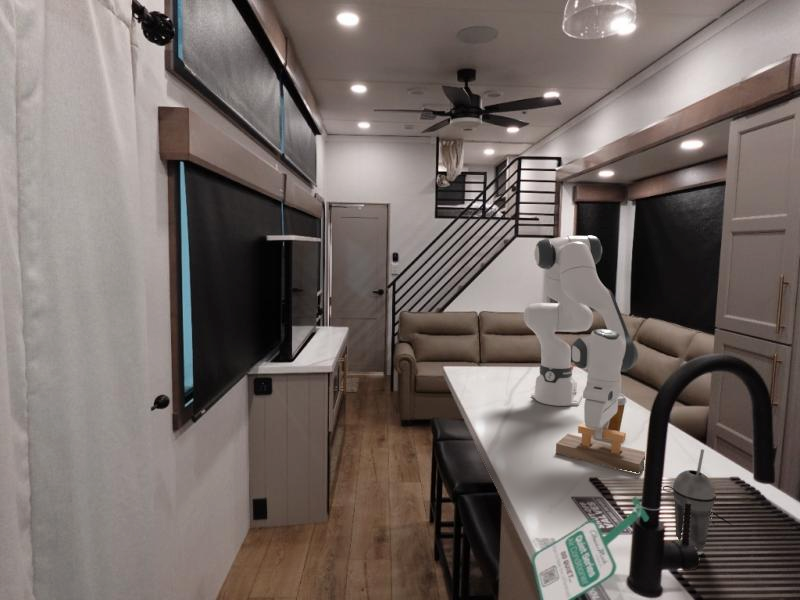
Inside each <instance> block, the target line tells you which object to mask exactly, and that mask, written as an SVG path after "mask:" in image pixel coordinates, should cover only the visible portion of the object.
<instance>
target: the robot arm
mask: <svg viewBox="0 0 800 600" xmlns="http://www.w3.org/2000/svg"><path fill="white" fill-rule="evenodd" d="M533 253H534V255H533V256H534V261H536V265H537V266H538V267H539V268H540V269H544V286H543V287H544V288H543V289H544V292H545V293H546V295H547V296H548V297H549V298H550V299H552V300H553V301H555V302H536V303H529V304H528V305H527V307H526V308H525V309H524V312H523V321H524V323H525V325H526V327H528V328H529V329H530V330H531V331H533V333H534V334H535V336H536V337H537V339H538V341H539V344H540V354H541V355H540V356H541V357H540V358H541V360H540V361H541V362H540V365H539V375H538V376H537V377H536V378H535V386H534V393H531V394H530V396H531V398H532V399H535V401H536V402H539V403H541V404H544V405H548V406H556V407H557V406H558V407H564V406H565V407H566V406H579V405H580V403H581V401H582V398H583V399H584V405H583V406H584V407H583V408H584V409H583V410H584V416H583V417H584V424H585V425H586V427H587V428H591V429H595V437H594V438H595V439H598V440H601V439H603V428H605V429H608V425H609V421H610V419H611V418H612V417H613V416H614V415H615V414H616V413H617V410H618V397H620V396H621V394H622V393H621V392H622V374H621V372H624V373H625V372H628V371H629V370H631V369H632V368H633V367H634V366H635V365H636V364H637V361H638V358H639V352H638V348H637V345H636V344H635V342H634V340H633V339H632V337H631V336H630V335H631V334H630V333H629V331H628V328H627V326H626V323H625V321H624V318H623V316H622V313H621V311H620V308H619V305H618V302H617V301H616V297H615V296H614V294H613V293H612V290H610V289H609V288H607V287H606V286H605V285H604V284H603V283H602V281H601V280H600V278H599V276H598V273H597V268H596V265H597V264H598V263H599V262H600V260H601V258H602V254H603V247H602V244H601V241H600V239H599V238H598V237H597V236H595V235H588V234H586V235H567V236H561V237H554V238H545V239H541V240H539V241H538V242H537V243H536V245H535V249H534V252H533ZM556 302H557V303H556ZM591 309H593V310H595V311H596V312H598V314H600V315H601V317H602V318H603V321H604V324H605V326H606V328H598V329H593V330H592V331H591V333H590V334H589V335H588V336H583V337H578V338H577V339H576V340H574V342H573V343H572V345H571V346H570V345H569V343H567V342H566V341H565V340H563V339H561V338H559V337H557V336H556V334H555V333H556V332H563V333H565V332H566V333H567V332H569V333H578V332H586V331H588V330H589V329H590V328H591V326H592V325H593V322H594V314H593V311H592V310H591ZM571 361H572V362H571ZM572 363H573V364H574V365H575V366H576V367H577V368H579V369H581V370H587V371H588V372H587V375H586V376H587V378H586V379H587V380H586V386H585V387H584V389H583V392H582V393H579V392H577V391H578V390H577V388H578V387H577V386H578V385H577V382H576V380H575V379H574V378H573V370H574V365H572Z"/></svg>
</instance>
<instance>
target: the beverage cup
mask: <svg viewBox="0 0 800 600" xmlns="http://www.w3.org/2000/svg"><path fill="white" fill-rule="evenodd" d="M704 452H705V449H702V448H701V449H700V454H699V457H698V458H699V459H698V463H697V464H698V465H697V469H696V470H694V469H692V470H691V469H690V470H688V469H687V470H684V471H682V472H680V473H679V474H678V475H677V476H676V478H675V479H674V481H673V484H672V488H671V489H672V491H673V493H672V494H673V499H674V515H675V518H674V519H675V520H674V521H675V537H676V536H677V537H678V539H679V540H680V539H681V533H682V525H683V516H684V505H685V503H686V502H690V503H691V520H690V532H689V543H690V544H691V545H694V546H695V547H696V548H697V550H698V551H700V550H702V549H703V548H704V549H705V546H706V543H707V539H708V531H709V527H710V523H711V521H710V517H711V515H712V513H711V511H712V510H713V508H714V505H715V502H716V499H717V495H716V489H715V485H714V484H713V483H712V480H710V478H709V477H708V476H707V475H706V474H704V473H703V472H701V469H702V464H703V458H704Z"/></svg>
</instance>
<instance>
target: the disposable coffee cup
mask: <svg viewBox="0 0 800 600" xmlns="http://www.w3.org/2000/svg"><path fill="white" fill-rule="evenodd" d="M627 401H628V400H627V399H626V396H625V395H624V394H622V393H621V396H620V397H618V410H617V413H616V414H615V415H614V416H613V417H612V418H611V419H610V421H609V425H608V429H610V430H615V431H619V432H621V428H622V420H623V415H624V411H625V405H626V403H627Z"/></svg>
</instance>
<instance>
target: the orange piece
mask: <svg viewBox="0 0 800 600" xmlns="http://www.w3.org/2000/svg"><path fill="white" fill-rule="evenodd" d="M577 428H578V429H577V433H578V434H581V437H582V445H583V446H587V447H591V439H592V437H594V438H595V429H591V428H587V427H586V425H585V423H580V424H579V425H578V427H577ZM626 434H627V433H626V432H624V431H623V432H622V431H620V432H619V431H615V430H610V429H605V428H603V438H602V439H603V440H608V441H610V444H611V452H612V453H616V454H620V449H621V446H622V444H623V443H624V442H625V441H626V438H627V437H626V436H627V435H626Z"/></svg>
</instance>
